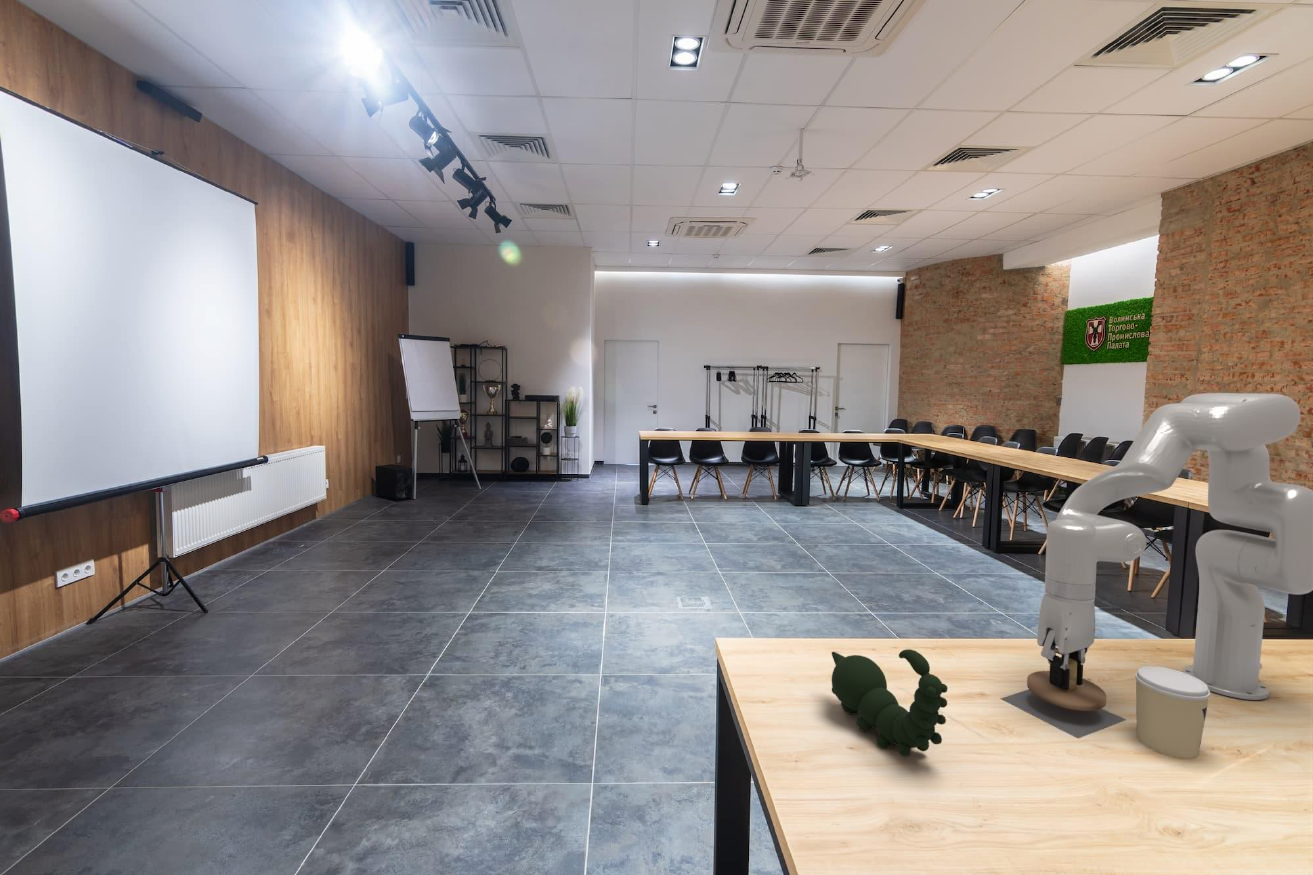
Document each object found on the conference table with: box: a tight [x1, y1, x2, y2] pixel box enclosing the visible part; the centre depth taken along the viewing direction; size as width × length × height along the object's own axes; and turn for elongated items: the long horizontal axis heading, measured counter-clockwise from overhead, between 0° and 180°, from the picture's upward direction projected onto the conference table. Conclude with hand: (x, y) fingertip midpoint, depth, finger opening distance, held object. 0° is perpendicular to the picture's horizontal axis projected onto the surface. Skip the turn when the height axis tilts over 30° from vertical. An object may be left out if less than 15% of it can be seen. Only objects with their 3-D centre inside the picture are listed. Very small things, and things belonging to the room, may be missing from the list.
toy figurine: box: [831, 648, 948, 758], centre depth 101 cm, size 9×19×25 cm
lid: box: [1026, 656, 1107, 711], centre depth 108 cm, size 12×12×6 cm
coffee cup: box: [1134, 665, 1211, 760], centre depth 97 cm, size 9×9×12 cm
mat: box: [1000, 689, 1127, 739], centre depth 108 cm, size 14×14×1 cm
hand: (1065, 683), depth 108 cm, fingers closed on lid, 3 cm apart
